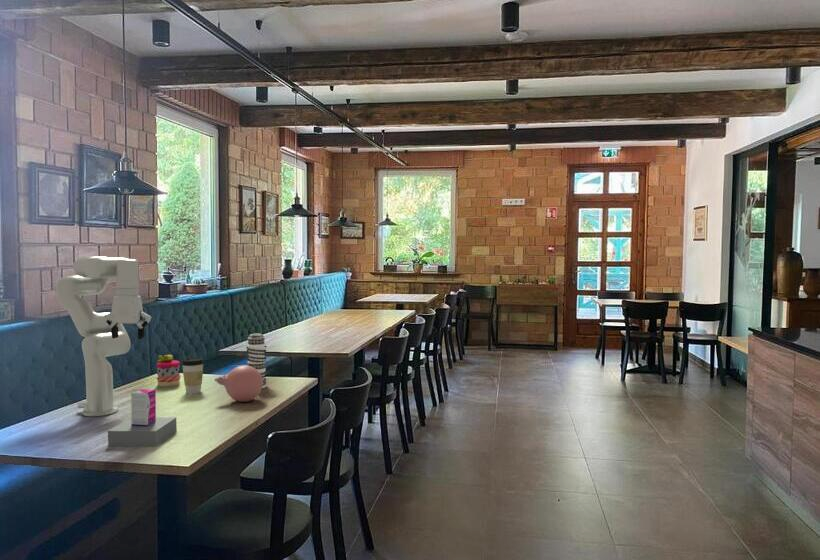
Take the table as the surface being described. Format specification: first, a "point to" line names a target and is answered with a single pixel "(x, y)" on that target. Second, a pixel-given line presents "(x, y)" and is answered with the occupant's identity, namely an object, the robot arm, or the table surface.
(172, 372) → the cake
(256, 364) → the striped thermos bottle
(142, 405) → the supplement box
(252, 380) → the balloon
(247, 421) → the table surface
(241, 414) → the table surface
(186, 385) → the coffee cup
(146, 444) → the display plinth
